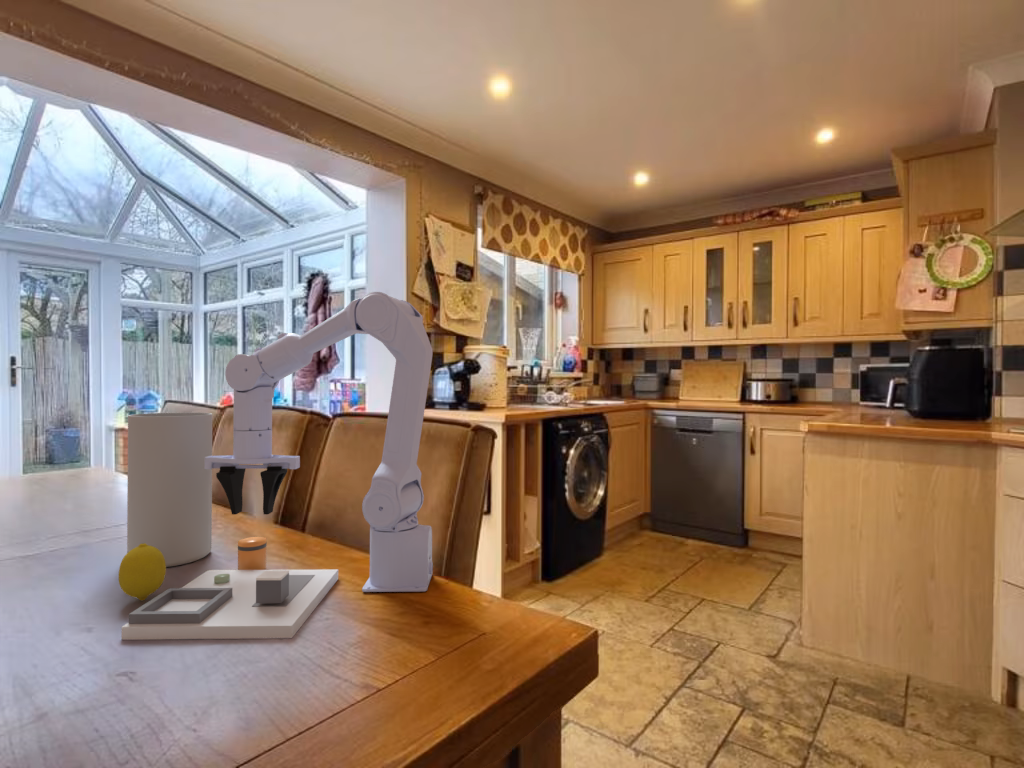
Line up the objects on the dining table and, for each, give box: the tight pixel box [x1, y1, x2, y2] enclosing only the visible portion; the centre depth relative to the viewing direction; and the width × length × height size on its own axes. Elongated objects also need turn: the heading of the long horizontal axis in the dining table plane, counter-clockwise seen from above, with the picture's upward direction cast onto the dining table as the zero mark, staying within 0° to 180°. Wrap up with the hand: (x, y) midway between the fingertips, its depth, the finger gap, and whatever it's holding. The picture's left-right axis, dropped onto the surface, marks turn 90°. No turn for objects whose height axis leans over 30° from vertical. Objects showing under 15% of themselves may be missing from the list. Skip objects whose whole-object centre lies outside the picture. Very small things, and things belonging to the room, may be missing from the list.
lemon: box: [118, 543, 167, 601], centre depth 77 cm, size 6×6×8 cm
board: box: [121, 568, 339, 641], centre depth 76 cm, size 20×20×3 cm
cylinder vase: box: [126, 412, 213, 568], centre depth 96 cm, size 12×12×25 cm
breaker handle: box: [256, 571, 289, 603], centre depth 73 cm, size 3×3×3 cm
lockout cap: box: [237, 536, 267, 570], centre depth 90 cm, size 4×4×5 cm
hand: (252, 513), depth 90 cm, fingers open, 4 cm apart
